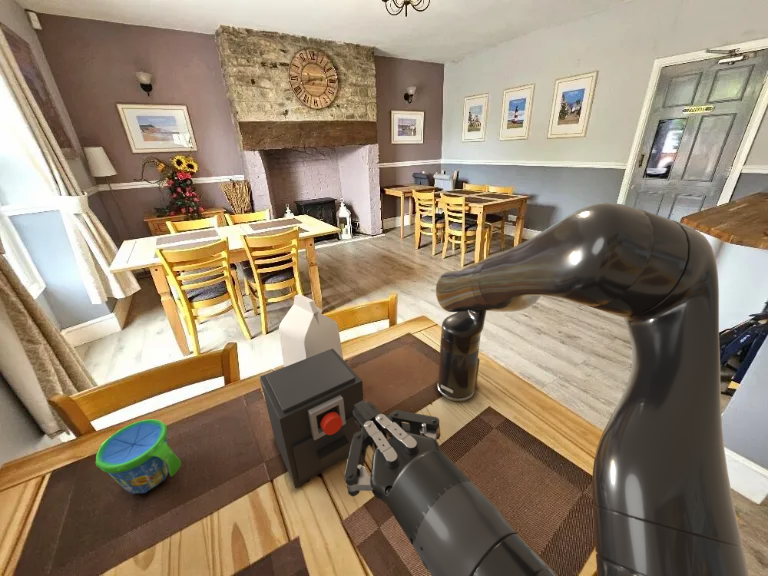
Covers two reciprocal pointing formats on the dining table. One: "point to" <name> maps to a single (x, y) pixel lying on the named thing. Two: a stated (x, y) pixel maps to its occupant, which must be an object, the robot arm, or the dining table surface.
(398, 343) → the dining table surface
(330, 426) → the power button
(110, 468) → the snack cup
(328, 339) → the milk
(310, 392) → the dark grey button box
